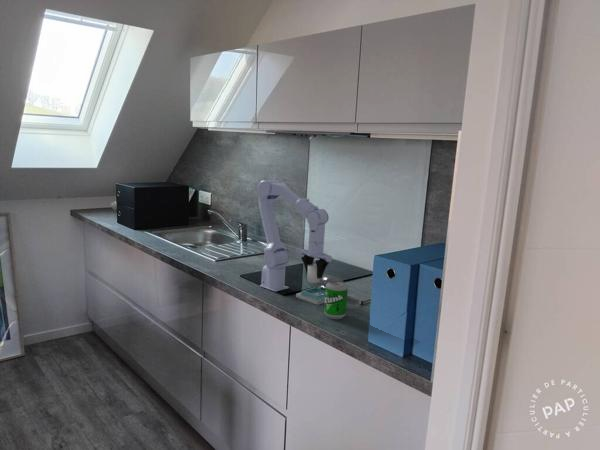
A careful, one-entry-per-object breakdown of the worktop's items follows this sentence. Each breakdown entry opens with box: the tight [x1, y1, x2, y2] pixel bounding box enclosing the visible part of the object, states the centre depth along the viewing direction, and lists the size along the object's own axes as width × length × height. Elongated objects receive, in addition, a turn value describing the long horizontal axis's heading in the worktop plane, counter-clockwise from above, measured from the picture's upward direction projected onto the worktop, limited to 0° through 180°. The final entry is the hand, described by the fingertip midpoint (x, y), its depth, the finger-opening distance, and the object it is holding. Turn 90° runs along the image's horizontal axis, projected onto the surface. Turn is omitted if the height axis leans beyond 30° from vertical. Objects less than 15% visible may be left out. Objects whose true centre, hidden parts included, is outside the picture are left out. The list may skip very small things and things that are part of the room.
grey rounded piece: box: [306, 263, 320, 284], centre depth 175 cm, size 5×7×6 cm
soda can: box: [323, 280, 349, 320], centre depth 158 cm, size 8×8×12 cm
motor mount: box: [295, 273, 344, 305], centre depth 178 cm, size 12×18×8 cm, turn 137°
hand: (314, 276), depth 174 cm, fingers closed on grey rounded piece, 5 cm apart
